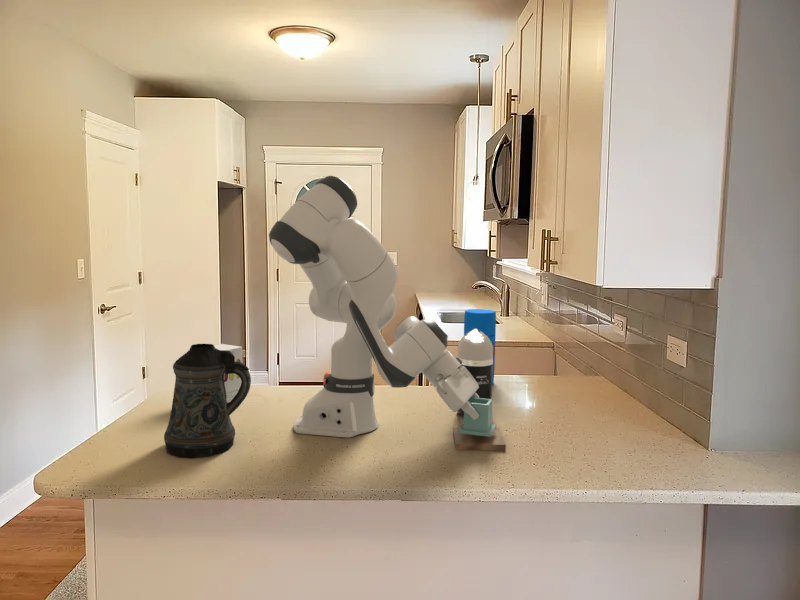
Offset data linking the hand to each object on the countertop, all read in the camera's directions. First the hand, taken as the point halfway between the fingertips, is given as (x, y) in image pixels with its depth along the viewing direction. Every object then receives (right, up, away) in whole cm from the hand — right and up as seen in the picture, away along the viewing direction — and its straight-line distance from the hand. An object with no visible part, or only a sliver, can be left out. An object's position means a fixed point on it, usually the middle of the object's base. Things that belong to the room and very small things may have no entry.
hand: (480, 413), depth 152 cm
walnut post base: (0, -7, +2) cm, 8 cm away
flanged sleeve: (-1, -4, +1) cm, 4 cm away
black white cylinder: (+1, -5, +24) cm, 25 cm away
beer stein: (-67, -7, -3) cm, 68 cm away
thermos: (+7, -1, +60) cm, 60 cm away
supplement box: (-74, -3, +34) cm, 82 cm away
